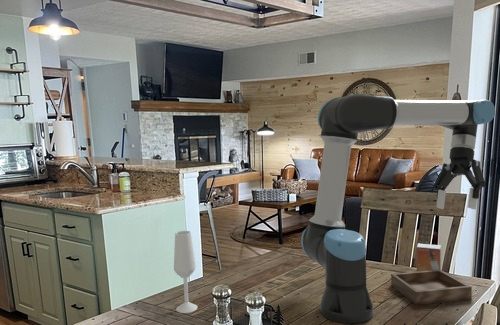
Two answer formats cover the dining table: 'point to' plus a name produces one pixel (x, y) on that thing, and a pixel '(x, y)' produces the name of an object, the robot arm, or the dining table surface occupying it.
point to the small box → (428, 257)
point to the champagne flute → (184, 265)
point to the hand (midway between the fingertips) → (455, 208)
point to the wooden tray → (431, 287)
